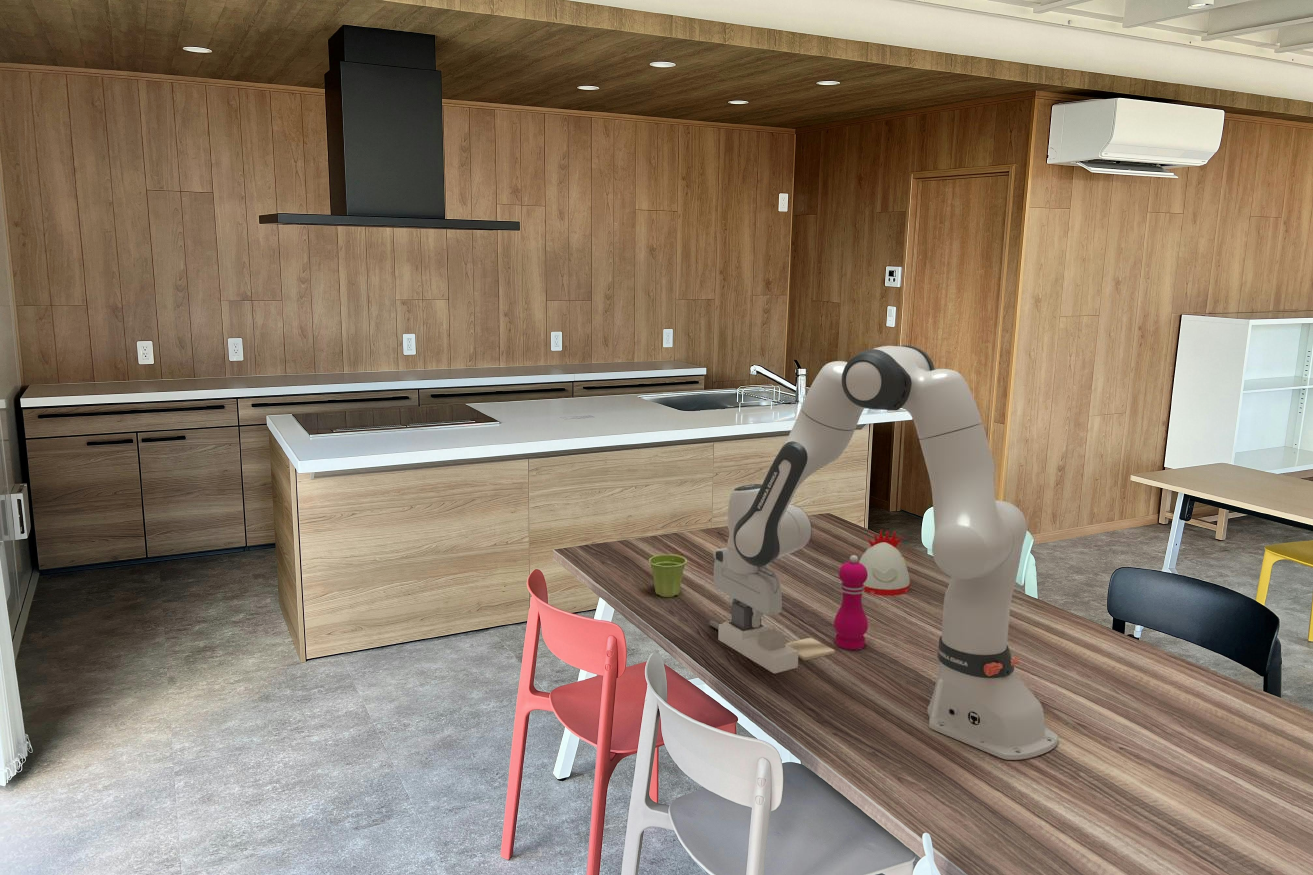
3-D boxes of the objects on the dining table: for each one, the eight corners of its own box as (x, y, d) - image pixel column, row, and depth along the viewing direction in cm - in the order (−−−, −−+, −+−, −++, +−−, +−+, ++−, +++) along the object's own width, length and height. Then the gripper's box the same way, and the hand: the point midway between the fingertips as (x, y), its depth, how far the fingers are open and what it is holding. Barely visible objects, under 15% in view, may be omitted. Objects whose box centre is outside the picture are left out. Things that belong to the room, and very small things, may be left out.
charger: (760, 632, 196) (761, 604, 195) (743, 636, 193) (744, 608, 192) (748, 625, 200) (749, 598, 198) (731, 629, 197) (731, 602, 196)
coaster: (834, 652, 194) (834, 650, 194) (805, 660, 190) (805, 657, 190) (810, 639, 201) (810, 637, 201) (781, 647, 197) (781, 644, 197)
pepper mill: (867, 652, 194) (871, 561, 191) (832, 649, 196) (836, 559, 192) (866, 639, 201) (871, 551, 198) (833, 636, 203) (836, 549, 199)
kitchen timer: (912, 597, 228) (915, 539, 226) (855, 594, 231) (858, 536, 228) (906, 579, 242) (909, 524, 239) (852, 576, 244) (855, 521, 242)
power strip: (799, 666, 187) (800, 639, 186) (772, 674, 183) (773, 645, 182) (723, 622, 210) (723, 597, 209) (697, 628, 207) (698, 603, 206)
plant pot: (686, 600, 225) (687, 566, 224) (648, 599, 225) (648, 565, 224) (686, 587, 234) (686, 554, 233) (649, 586, 235) (649, 554, 233)
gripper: (790, 570, 186) (788, 635, 189) (732, 545, 204) (731, 604, 206) (765, 575, 183) (763, 640, 186) (709, 549, 201) (708, 609, 203)
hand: (746, 621), depth 196 cm, fingers open, 5 cm apart
